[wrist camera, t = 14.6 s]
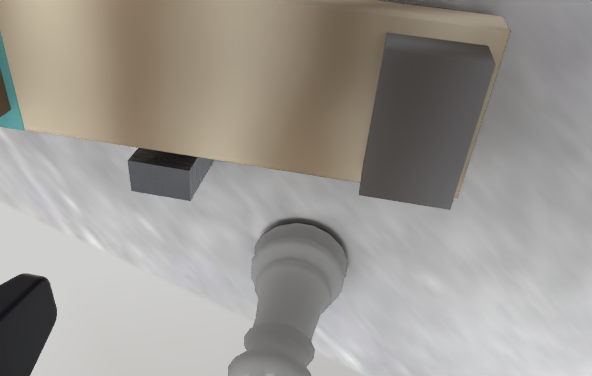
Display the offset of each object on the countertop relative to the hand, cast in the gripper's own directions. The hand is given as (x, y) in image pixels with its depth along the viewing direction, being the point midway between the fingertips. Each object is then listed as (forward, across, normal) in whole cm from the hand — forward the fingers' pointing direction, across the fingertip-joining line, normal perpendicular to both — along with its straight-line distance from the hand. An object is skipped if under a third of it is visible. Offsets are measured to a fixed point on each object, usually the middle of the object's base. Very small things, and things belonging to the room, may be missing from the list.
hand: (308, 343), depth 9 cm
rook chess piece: (+13, +1, +10) cm, 17 cm away
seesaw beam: (+13, +7, +1) cm, 14 cm away
